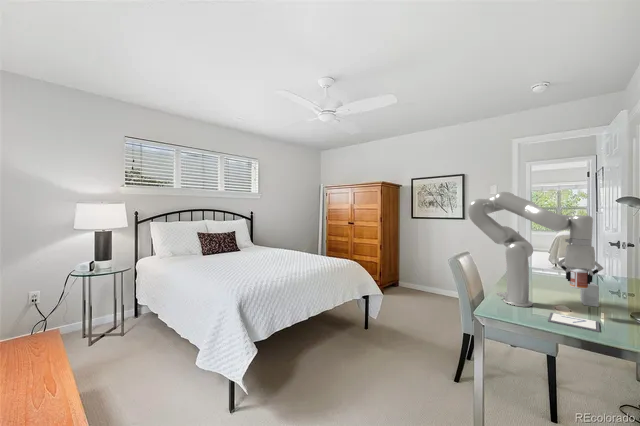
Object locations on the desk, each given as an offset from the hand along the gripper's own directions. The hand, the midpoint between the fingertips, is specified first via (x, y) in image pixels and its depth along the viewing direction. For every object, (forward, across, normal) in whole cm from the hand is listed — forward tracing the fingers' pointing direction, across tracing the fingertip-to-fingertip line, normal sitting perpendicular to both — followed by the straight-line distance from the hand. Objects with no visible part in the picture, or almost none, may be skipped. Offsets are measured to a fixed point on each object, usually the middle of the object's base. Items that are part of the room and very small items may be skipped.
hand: (578, 281), depth 132 cm
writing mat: (+15, -1, -12) cm, 20 cm away
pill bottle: (+3, 0, 0) cm, 3 cm away
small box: (+16, +4, +25) cm, 30 cm away
